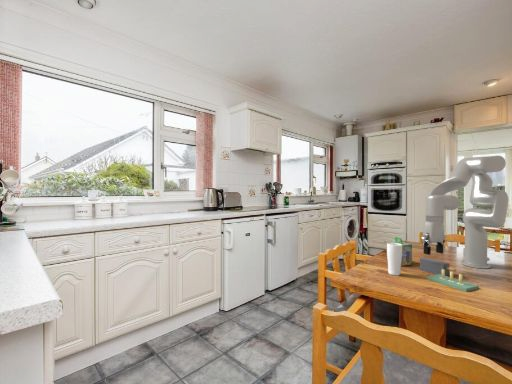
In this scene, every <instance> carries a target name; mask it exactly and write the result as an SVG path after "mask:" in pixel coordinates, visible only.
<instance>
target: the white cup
mask: <svg viewBox="0 0 512 384" xmlns="http://www.w3.org/2000/svg"><path fill="white" fill-rule="evenodd" d="M386 259H388V262H387V272H388V274H389V275H391V276H397V277H398V276H400V275H401V269H402V268H401V267H402V266H401V261H402V244H399V243H388V242H387V243H386Z"/></svg>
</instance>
